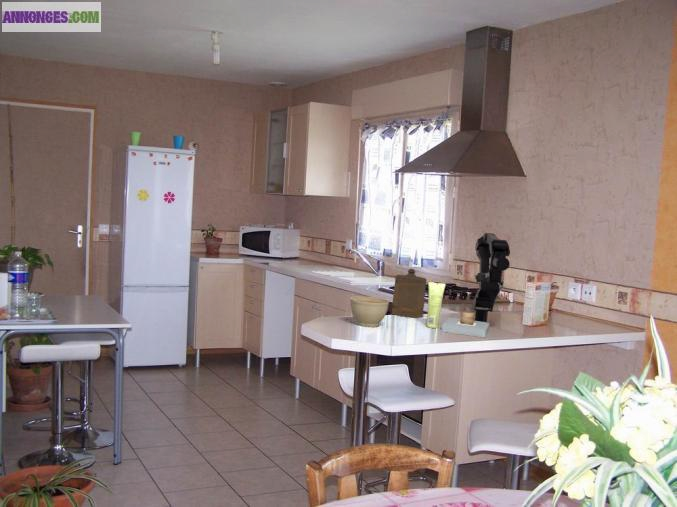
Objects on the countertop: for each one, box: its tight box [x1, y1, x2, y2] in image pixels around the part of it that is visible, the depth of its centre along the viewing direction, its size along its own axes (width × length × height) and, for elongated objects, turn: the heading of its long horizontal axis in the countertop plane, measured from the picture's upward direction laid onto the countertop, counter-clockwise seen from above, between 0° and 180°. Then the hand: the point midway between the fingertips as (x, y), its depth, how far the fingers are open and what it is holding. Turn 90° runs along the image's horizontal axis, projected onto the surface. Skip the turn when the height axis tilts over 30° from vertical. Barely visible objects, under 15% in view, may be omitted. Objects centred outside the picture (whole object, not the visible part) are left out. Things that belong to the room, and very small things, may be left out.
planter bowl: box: [350, 296, 390, 328], centre depth 298 cm, size 16×16×11 cm
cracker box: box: [521, 281, 552, 328], centre depth 340 cm, size 14×6×21 cm, turn 134°
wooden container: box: [391, 268, 427, 319], centre depth 335 cm, size 15×15×22 cm
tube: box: [426, 281, 446, 329], centre depth 307 cm, size 6×5×20 cm
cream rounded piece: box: [460, 310, 475, 325], centre depth 307 cm, size 6×6×8 cm
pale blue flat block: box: [441, 317, 491, 338], centre depth 307 cm, size 22×18×3 cm
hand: (492, 302), depth 312 cm, fingers closed
